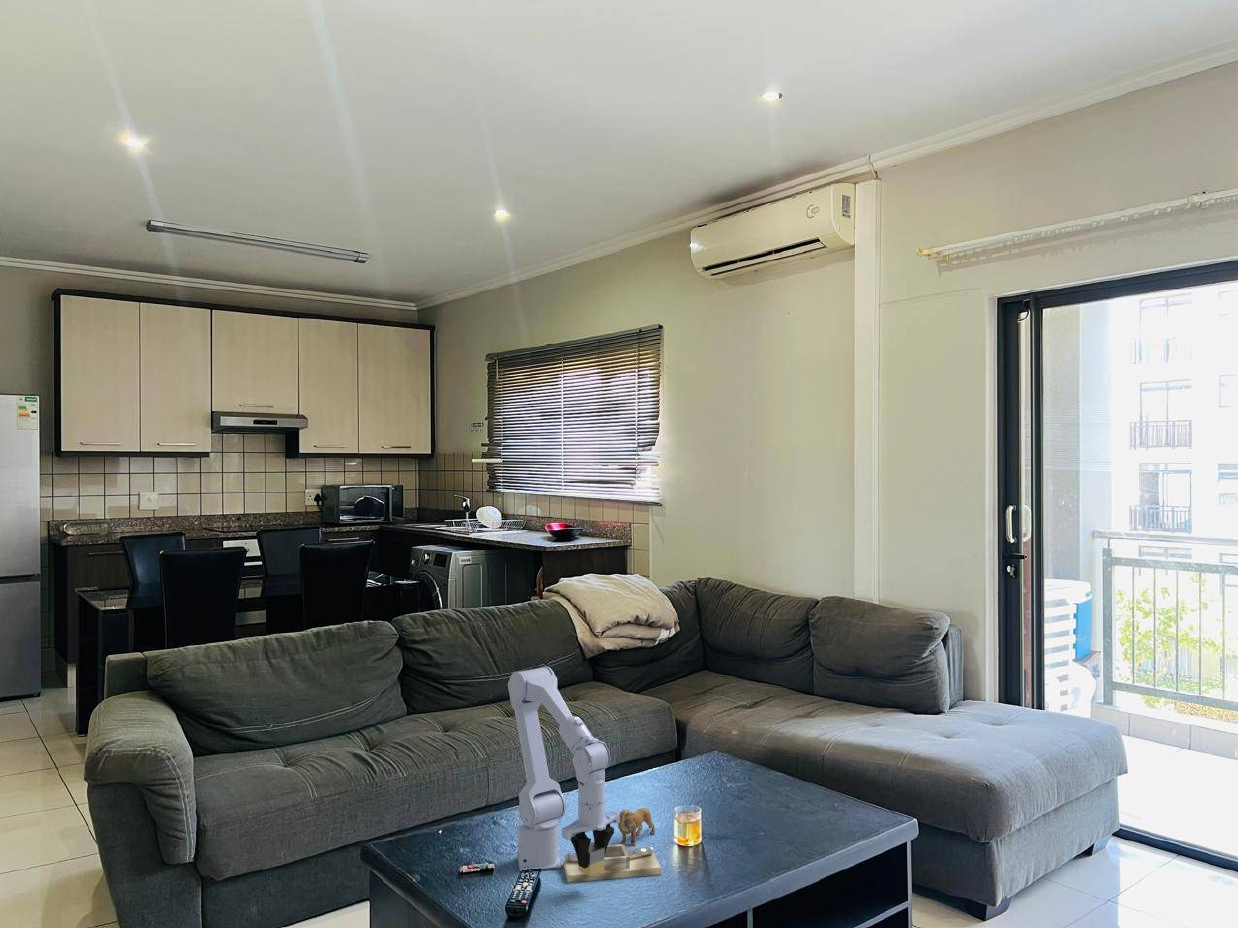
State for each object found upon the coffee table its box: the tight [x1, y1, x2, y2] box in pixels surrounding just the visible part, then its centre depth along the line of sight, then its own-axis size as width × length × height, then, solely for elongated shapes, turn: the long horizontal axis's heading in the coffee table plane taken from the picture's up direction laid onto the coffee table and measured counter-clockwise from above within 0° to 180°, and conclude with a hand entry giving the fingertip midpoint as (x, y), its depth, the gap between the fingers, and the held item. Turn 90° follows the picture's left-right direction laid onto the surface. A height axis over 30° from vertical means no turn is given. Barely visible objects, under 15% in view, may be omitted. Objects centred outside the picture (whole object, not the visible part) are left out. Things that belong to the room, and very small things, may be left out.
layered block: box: [578, 841, 605, 876], centre depth 189 cm, size 4×4×5 cm
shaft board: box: [562, 844, 662, 884], centre depth 199 cm, size 21×9×4 cm, turn 101°
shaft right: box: [627, 845, 655, 859], centre depth 202 cm, size 7×2×2 cm, turn 116°
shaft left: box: [563, 852, 578, 862], centre depth 199 cm, size 7×2×2 cm, turn 86°
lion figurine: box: [617, 807, 656, 847], centre depth 215 cm, size 15×5×9 cm, turn 152°
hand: (591, 863), depth 189 cm, fingers closed on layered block, 4 cm apart
